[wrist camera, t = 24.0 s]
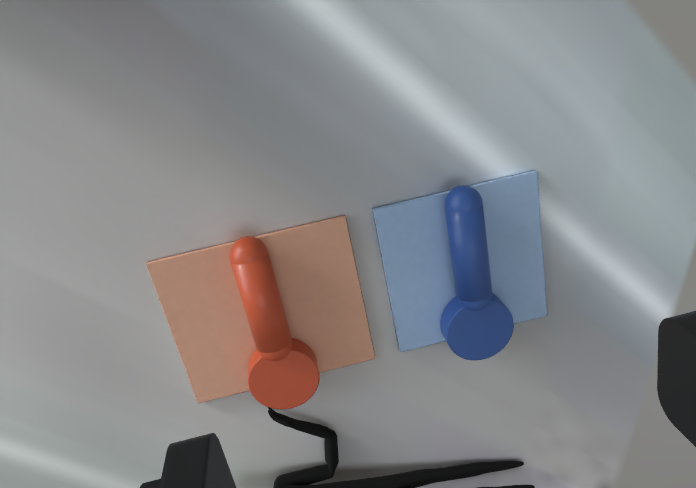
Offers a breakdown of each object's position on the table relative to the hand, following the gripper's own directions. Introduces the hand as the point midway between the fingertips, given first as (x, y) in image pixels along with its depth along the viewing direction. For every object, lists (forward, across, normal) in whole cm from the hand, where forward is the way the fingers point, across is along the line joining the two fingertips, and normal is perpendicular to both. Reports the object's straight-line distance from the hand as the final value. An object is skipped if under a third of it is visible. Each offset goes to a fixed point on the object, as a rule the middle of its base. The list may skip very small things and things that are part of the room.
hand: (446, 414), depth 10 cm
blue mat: (+30, -9, +13) cm, 34 cm away
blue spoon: (+30, -9, +13) cm, 34 cm away
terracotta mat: (+30, +6, +13) cm, 33 cm away
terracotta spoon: (+30, +6, +13) cm, 33 cm away
